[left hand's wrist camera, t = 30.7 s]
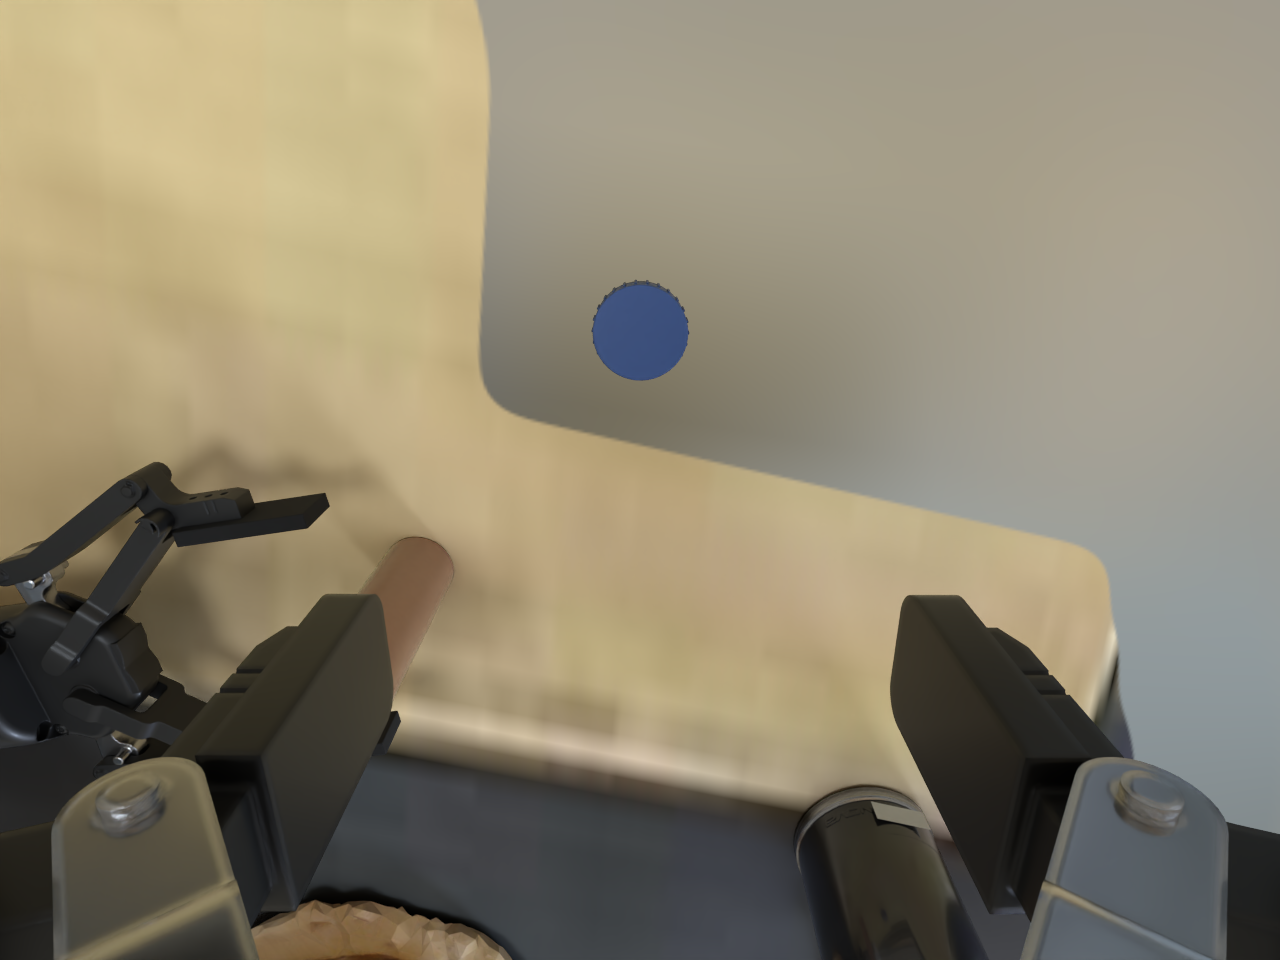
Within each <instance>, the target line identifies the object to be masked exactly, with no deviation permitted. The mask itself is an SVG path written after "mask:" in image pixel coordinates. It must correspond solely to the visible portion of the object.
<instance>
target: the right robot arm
mask: <svg viewBox="0 0 1280 960" xmlns="http://www.w3.org/2000/svg"><path fill="white" fill-rule="evenodd" d="M171 476H172V474H171V471H170V469H169V468H168V467H167V466H166V465H165V464H163V463H160V462H153V463H151V464H149V465H147V466H145V467H144V468H142V469H140V470H138V471H136V472H134V473H133V474H131V475H129V476H127V477H125V478H123V479H122V480H120V481H118V482H117V483H116V484H114V485H113V486H112V487H111V488H109V489H108V490H107V491H106V492H104V493H103V494H102V495H101V496H99V497H98V498H97V499H96V500H95V501H93V502H92V503H91V504H90V505H88V506H87V507H86V508H85V509H83V510H82V511H81V512H80V513H78V514H77V515H76V516H75V517H74V518H72V519H71V520H70V521H69V522H67V523H66V524H65V525H64V526H62V527H61V528H60V529H59V530H57V531H56V532H55V533H54V534H52V535H51V536H50V537H49V538H48V539H46V540H44V541H41V542H37V543H33V544H31V545H29V546H27V547H25V548H24V549H22V550H20V551H18V552H16V553H15V554H13V555H11V556H9V557H7V558H6V559H4V560H2V561H1V562H0V586H10V585H15V586H16V588H17V589H18V591H19V592H20V594H21V595H22V597H23V599H24V600H25V602H26V603H21V604H14V605H7V606H0V749H2V748H10V747H18V746H25V745H32V744H37V743H41V742H45V741H48V740H51V739H54V738H57V737H61V736H64V735H68V734H77V735H82V736H86V737H89V738H95V739H96V742H97V744H98V747H99V750H100V752H101V755H102V758H103V759H102V760H101V761H100V762H99V763H98V764H97V765H96V767H95V768H94V769H93V775H94V777H95V778H96V779H99V778H100V777H102V776H104V775H106V774H108V773H110V772H112V771H114V770H117V769H119V768H121V767H124V766H126V765H130V764H133V763H136V762H139V761H143V760H148V759H153V758H160V757H161V756H162V755H163V754H164V753H165V752H166V750H167V749H168V748H169V747H170V746H171V745H172V744H173V742H174V741H175V740H176V739H177V738H178V737H179V735H180V734H181V733H182V732H183V731H184V730H185V728H186V727H187V726H188V725H189V724H190V723H191V721H192V720H193V719H194V718H195V717H196V716H197V714H198V713H199V712H200V711H201V710H202V709H203V707H204V706H205V705H206V704H207V703H205V702H203V701H201V700H199V699H196V698H194V697H192V696H190V695H188V694H186V693H185V691H184V686H183V685H182V684H180V683H178V682H176V681H174V680H171V679H169V678H167V677H165V676H163V675H160V673H161V672H162V671H163V670H162V668H161V665H160V663H159V661H158V659H157V658H156V656H155V655H154V654H153V653H152V651H151V650H150V649H149V647H148V642H147V635H146V633H145V630H144V628H143V626H142V624H141V623H135V622H134V621H133V620H132V619H130V618H129V617H128V616H126V615H125V614H126V612H127V611H128V609H129V608H130V607H131V605H132V604H133V602H134V601H135V600H136V598H137V597H138V595H139V594H140V592H141V591H140V589H141V587H142V586H143V585H144V583H145V582H146V580H147V579H148V578H149V576H150V575H151V573H152V572H153V570H154V569H155V568H156V566H157V565H158V563H159V562H160V561H161V559H162V558H163V556H164V555H165V554H166V552H167V551H168V549H169V548H170V546H171V545H172V544H173V542H174V541H175V542H176V544H177V547H183V546H189V545H196V544H203V543H210V542H217V541H224V540H231V539H238V538H244V537H251V536H258V535H265V534H272V533H279V532H286V531H293V530H299V529H306V528H308V527H309V526H310V525H311V524H312V523H313V522H314V521H315V520H316V519H317V518H318V517H319V516H320V515H321V514H322V513H323V512H324V511H326V510H327V509H328V508H329V507H330V506H329V503H328V500H327V497H326V494H325V493H321V494H314V495H308V496H301V497H294V498H287V499H281V500H274V501H267V502H260V503H254V502H253V499H252V496H251V493H250V491H249V490H248V489H244V488H239V487H237V488H231V489H224V490H219V491H218V490H217V491H211V492H204V493H197V494H186V493H184V492H181V491H180V490H178V489H177V488H176V487H175V486H174V484H173V483H172V482H171V481H170V480H171ZM137 507H139V509H140V510H141V511H142V512H143V513H144V514H145V515H144V516H142V517H141V518H139V519H138V520H137V521H135V523H136V524H137V523H139V522H140V523H139V525H138V526H137V528H136V529H135V531H134V532H133V534H132V535H131V537H130V538H129V539H128V541H127V542H126V544H125V545H124V547H123V548H122V550H121V551H120V553H119V554H118V556H117V557H116V558H115V560H114V561H113V563H112V564H111V566H110V567H109V569H108V570H107V572H106V573H105V575H104V576H103V578H102V579H101V580H100V582H99V583H98V585H97V586H96V588H95V589H94V591H93V592H92V594H91V595H90V597H89V598H88V599H87V600H86V599H84V598H81V597H79V596H76V595H74V594H71V593H68V592H64V591H57V590H56V582H57V581H58V580H59V579H61V578H62V577H63V576H64V574H65V568H67V567H68V565H69V563H68V561H67V560H68V559H69V558H71V557H73V556H74V555H76V554H77V553H79V552H80V551H82V550H83V549H85V548H86V547H87V546H89V545H90V544H91V543H93V542H94V541H95V540H96V539H98V538H99V537H100V536H101V535H103V534H104V533H105V532H106V531H108V530H109V529H110V528H111V527H113V526H114V525H115V524H117V523H118V522H119V521H120V520H122V519H123V518H124V517H125V516H127V515H128V514H129V513H130V512H132V511H133V510H134V509H135V508H137ZM148 695H149V696H152V697H154V698H156V699H157V701H156V702H155V703H154V704H153V705H152V706H151V707H150V708H149V709H148V710H147V711H145V712H142V713H140V712H136V711H135V710H136V708H137V707H138V706H139V705H140V704H141V703H142V702H143V701H144V700H145V699H146V698H147V697H148ZM400 722H401V720H400V717H399V714H398V711H392V712H390V716H389V719H388V722H387V724H386V726H385V728H384V730H383V732H382V734H381V737H380V739H379V741H378V743H377V745H376V747H375V749H374V751H373V753H372V755H371V756H376V755H384V754H386V753H387V751H388V748H389V746H390V744H391V742H392V740H393V738H394V735H395V733H396V731H397V729H398V727H399V725H400Z"/></svg>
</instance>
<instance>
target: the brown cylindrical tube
mask: <svg viewBox="0 0 1280 960" xmlns="http://www.w3.org/2000/svg"><path fill="white" fill-rule="evenodd" d="M453 574H454V568H453V563H452V560H451V558H450V556H449V555H448V553H447V552H446V551H445V550H444V549H443V548H442V547H441V546H440V545H438V544H437V543H435V542H433V541H431V540H429V539H425V538H420V537H411V538H406V539H403V540H400V541H398V542H397V543H395V544H394V545H393V546H392V547H391V548H390V549H389V550H388V552H387V553H386V554H385V556H384V557H383V559H382V560H381V561H380V563H379V564H378V566H377V567H376V568H375V570H374V571H373V573H372V574H371V575H370V577H369V578H368V580H367V581H366V582H365V584H364V585H363V586H362V588H361V589H360V591H359V592H358V593H357V594H376V595H378V596H379V598H380V600H381V602H382V606H383V611H384V618H385V625H386V632H387V640H388V647H389V654H390V661H391V668H392V675H393V700H394V698H395V696H396V694H397V692H398V690H399V688H400V686H401V684H402V682H403V679H404V677H405V675H406V673H407V671H408V669H409V667H410V665H411V663H412V661H413V659H414V657H415V655H416V653H417V651H418V649H419V647H420V645H421V643H422V641H423V639H424V637H425V635H426V633H427V631H428V629H429V627H430V625H431V623H432V621H433V619H434V617H435V615H436V613H437V610H438V608H439V606H440V604H441V602H442V600H443V598H444V596H445V594H446V592H447V590H448V588H449V586H450V584H451V582H452V579H453Z"/></svg>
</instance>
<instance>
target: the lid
mask: <svg viewBox="0 0 1280 960" xmlns="http://www.w3.org/2000/svg"><path fill="white" fill-rule="evenodd" d="M678 301H679V300H678V298H677V297H674V296H673V294H671V293H670V290H669V289H667V290H666V289H665V288H663V287H661V286H660V284H659V283H658V284H654V283H651V282H648V280H646V282H645V281H637V280H635V282H630V283H623V285H621V286H619V287H618V288H613V291H612V292H610V293H609V294H608V295H605V297H604V300H603V302H602V303H601V305H598V308H597V309H598V311H597V314H596V315H595V316H594V318H593V321H594V325H593V328H592V332H593V344H594V345H595V348H596V351H597V354H598V355H599V357H600V359H601V360H602V361H603V363H604V364H605V365H606V366H607V367H608V368H609V369H610V370H612V371H613V372H614V373H616V374H618V375H619V376H622V377H624V378H627V379H631V380H649V379H654V378H657V377H659V376H661V375H663V374H665V373H667V372H668V371H669V370H671V369H672V368H673V367H674V366H675V365H676V364H677V363H678V361H679V360H680V358H681V357H682V356H683V353H684V351H685V348H686V346H687V340H688V334H689V331H688V325H687V323H688V319H687V318H686V317H685V314H684V311H685V310H684V308H683V307H681V305H680V303H679V302H678Z"/></svg>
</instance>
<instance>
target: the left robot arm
mask: <svg viewBox="0 0 1280 960" xmlns="http://www.w3.org/2000/svg"><path fill="white" fill-rule="evenodd" d="M890 696H891V705H892V710H893V715H894V718H895V721H896V724H897V726H898V728H899V730H900V732H901V734H902V736H903V738H904V740H905V742H906V744H907V746H908V748H909V750H910V752H911V755H912V757H913V759H914V761H915V763H916V765H917V767H918V769H919V771H920V773H921V775H922V777H923V779H924V781H925V783H926V785H927V787H928V789H929V791H930V793H931V795H932V797H933V799H934V801H935V804H936V806H937V808H938V810H939V812H940V814H941V816H942V818H943V820H944V822H945V824H946V826H947V828H948V830H949V832H950V834H951V836H952V838H953V840H954V842H955V844H956V846H957V848H958V850H959V853H960V855H961V857H962V859H963V861H964V863H965V865H966V867H967V869H968V871H969V873H970V875H971V877H972V879H973V881H974V883H975V885H976V887H977V889H978V891H979V893H980V895H981V897H982V899H983V902H984V904H985V906H986V908H987V910H988V912H989V914H1026V915H1027V917H1028V919H1029V920H1030V922H1031V925H1030V928H1029V931H1028V935H1027V938H1026V942H1025V945H1024V949H1023V952H1022V956H1021V959H1020V960H1280V834H1276V833H1272V832H1267V831H1263V830H1258V829H1254V828H1249V827H1245V826H1241V825H1236V824H1232V823H1229V822H1226V821H1225V819H1224V817H1223V815H1222V814H1221V812H1220V811H1219V809H1218V808H1217V807H1216V806H1215V805H1214V803H1213V802H1212V801H1211V800H1210V799H1209V798H1208V797H1206V796H1205V795H1204V794H1203V793H1202V792H1201V791H1199V790H1198V789H1197V788H1195V787H1194V786H1192V785H1191V784H1190V783H1188V782H1186V781H1185V780H1183V779H1181V778H1180V777H1178V776H1176V775H1174V774H1172V773H1170V772H1168V771H1166V770H1163V769H1161V768H1158V767H1156V766H1154V765H1150V764H1147V763H1144V762H1141V761H1137V760H1132V759H1127V758H1124V757H1123V756H1122V755H1121V754H1120V752H1119V751H1118V750H1117V749H1116V748H1115V747H1114V746H1113V744H1112V743H1111V742H1110V741H1109V740H1108V739H1107V737H1106V736H1105V735H1104V734H1103V733H1102V732H1101V731H1100V729H1099V728H1098V727H1097V726H1096V725H1095V724H1094V722H1093V721H1092V720H1091V719H1090V718H1089V717H1088V716H1087V714H1086V713H1085V712H1084V711H1083V710H1082V709H1081V708H1080V706H1079V705H1078V704H1077V703H1076V702H1075V701H1074V699H1073V698H1072V697H1071V696H1070V695H1066V694H1065V689H1064V688H1063V687H1062V686H1061V684H1060V683H1059V682H1058V681H1057V680H1056V679H1055V678H1054V676H1053V675H1049V674H1048V670H1047V668H1046V667H1045V666H1044V665H1043V664H1042V663H1041V661H1040V660H1039V659H1038V658H1037V657H1036V656H1035V655H1034V653H1033V652H1032V651H1031V650H1030V649H1029V648H1028V647H1027V646H1025V645H1024V644H1022V643H1020V642H1019V641H1017V640H1016V639H1014V638H1013V637H1011V636H1009V635H1008V634H1006V633H1005V632H1003V631H1002V630H1000V629H998V628H986V626H985V625H984V624H983V623H982V621H981V620H980V619H979V618H978V616H977V615H976V614H975V613H974V612H973V610H972V609H971V608H970V607H969V605H968V604H967V603H966V602H965V600H964V599H963V598H962V597H960V596H958V595H909V596H907V597H906V598H905V599H904V601H903V603H902V607H901V612H900V619H899V626H898V633H897V640H896V647H895V654H894V661H893V668H892V675H891V683H890ZM392 702H393V675H392V668H391V661H390V654H389V647H388V640H387V632H386V625H385V618H384V611H383V606H382V602H381V600H380V598H379V596H378V595H376V594H325V595H324V596H322V597H321V598H320V600H319V601H318V602H317V603H316V605H315V606H314V607H313V608H312V610H311V611H310V612H309V613H308V615H307V616H306V617H305V618H304V620H303V621H302V622H301V623H300V625H299V626H287V627H285V628H284V629H282V630H281V631H279V632H278V633H276V634H274V635H273V636H271V637H270V638H268V639H267V640H265V641H263V642H262V643H260V644H259V645H257V646H256V647H255V648H254V649H253V651H252V652H251V653H250V654H249V655H248V656H247V658H246V659H245V660H244V661H243V662H242V663H241V664H240V666H239V667H238V668H237V672H236V674H232V675H231V676H230V677H229V678H228V680H227V681H226V682H225V683H224V684H223V685H222V687H221V688H220V693H216V694H215V695H214V696H213V697H212V698H211V699H210V701H209V702H208V703H207V704H206V705H205V706H204V707H203V709H202V710H201V711H200V712H199V713H198V714H197V716H196V717H195V718H194V719H193V720H192V721H191V723H190V724H189V725H188V726H187V727H186V728H185V730H184V731H183V732H182V733H181V734H180V735H179V737H178V738H177V739H176V740H175V741H174V742H173V744H172V745H171V746H170V747H169V748H168V749H167V750H166V752H165V753H164V754H163V755H162V756H161V757H160V758H153V759H148V760H143V761H139V762H136V763H133V764H130V765H126V766H124V767H121V768H119V769H117V770H114V771H112V772H110V773H108V774H106V775H104V776H102V777H100V778H99V779H97V780H95V781H94V782H92V783H90V784H89V785H87V786H86V787H85V788H83V789H82V790H81V791H79V792H78V793H77V794H76V795H75V796H74V797H72V798H71V799H70V800H69V801H68V802H67V803H66V805H65V806H64V807H63V808H62V809H61V811H60V812H59V814H58V815H57V817H56V819H55V821H52V822H47V823H43V824H39V825H34V826H30V827H25V828H21V829H16V830H12V831H7V832H3V833H0V960H260V959H259V956H258V952H257V949H256V945H255V942H254V938H253V935H252V931H251V927H252V925H253V923H254V921H255V920H256V918H257V916H258V914H259V912H260V911H296V910H297V908H298V906H299V904H300V902H301V900H302V898H303V896H304V894H305V892H306V889H307V887H308V885H309V883H310V881H311V879H312V877H313V875H314V873H315V871H316V869H317V867H318V865H319V863H320V861H321V858H322V856H323V854H324V852H325V850H326V848H327V846H328V844H329V842H330V840H331V838H332V836H333V834H334V832H335V830H336V827H337V825H338V823H339V821H340V819H341V817H342V815H343V813H344V811H345V809H346V807H347V805H348V803H349V801H350V799H351V796H352V794H353V792H354V790H355V788H356V786H357V784H358V782H359V780H360V778H361V776H362V774H363V772H364V770H365V768H366V765H367V763H368V761H369V759H370V757H371V755H372V753H373V751H374V749H375V747H376V745H377V743H378V741H379V739H380V737H381V734H382V732H383V730H384V728H385V726H386V724H387V722H388V719H389V716H390V712H391V708H392ZM794 851H795V855H796V859H797V864H798V868H799V870H800V872H801V874H802V878H803V883H804V887H805V891H806V895H807V900H808V905H809V909H810V913H811V917H812V921H813V926H814V930H815V934H816V938H817V942H818V946H819V951H820V955H821V959H822V960H989V959H988V956H987V954H986V952H985V950H984V948H983V945H982V943H981V941H980V939H979V937H978V935H977V932H976V930H975V928H974V926H973V924H972V922H971V919H970V917H969V915H968V913H967V911H966V908H965V906H964V904H963V902H962V900H961V898H960V895H959V893H958V891H957V889H956V887H955V884H954V882H953V880H952V878H951V876H950V874H949V871H948V869H947V867H946V864H945V862H944V860H943V858H942V856H941V853H940V851H939V849H938V847H937V845H936V843H935V840H934V837H933V833H932V830H931V828H930V826H929V824H928V821H927V819H926V817H925V815H924V813H923V812H922V810H921V809H920V808H919V807H918V806H917V805H916V804H915V803H914V802H913V801H912V800H911V799H909V798H908V797H906V796H904V795H902V794H900V793H898V792H895V791H892V790H889V789H884V788H877V787H860V788H853V789H848V790H844V791H841V792H838V793H835V794H833V795H831V796H828V797H827V798H825V799H823V800H821V801H820V802H818V803H817V804H816V805H814V806H813V807H812V808H811V809H810V810H809V811H808V812H807V813H806V814H805V815H804V817H803V818H802V820H801V821H800V823H799V825H798V827H797V829H796V832H795V836H794Z"/></svg>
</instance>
